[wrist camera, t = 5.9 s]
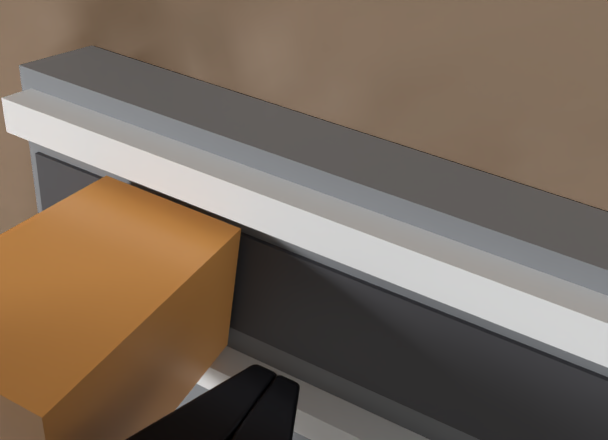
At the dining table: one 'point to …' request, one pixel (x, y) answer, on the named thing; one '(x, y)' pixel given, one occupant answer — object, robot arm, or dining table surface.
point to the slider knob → (109, 312)
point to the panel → (350, 255)
